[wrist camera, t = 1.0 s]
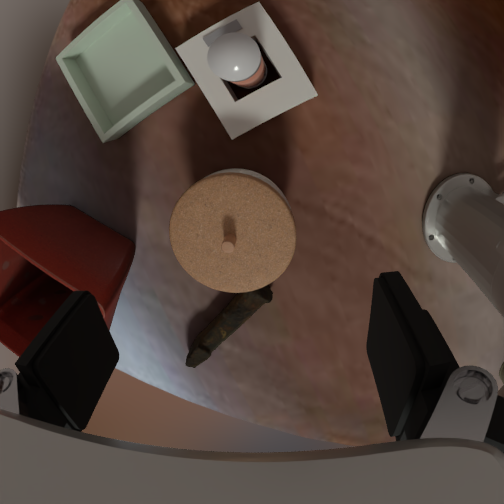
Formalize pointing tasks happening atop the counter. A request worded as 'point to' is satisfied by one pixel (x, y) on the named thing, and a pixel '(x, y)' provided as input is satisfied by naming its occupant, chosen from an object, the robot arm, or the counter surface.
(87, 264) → the plant pot
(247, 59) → the cylinder
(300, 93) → the block
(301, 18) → the counter surface
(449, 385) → the robot arm
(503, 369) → the can
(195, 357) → the hand tool
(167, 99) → the parts tray
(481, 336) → the counter surface
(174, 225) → the lidded bowl
